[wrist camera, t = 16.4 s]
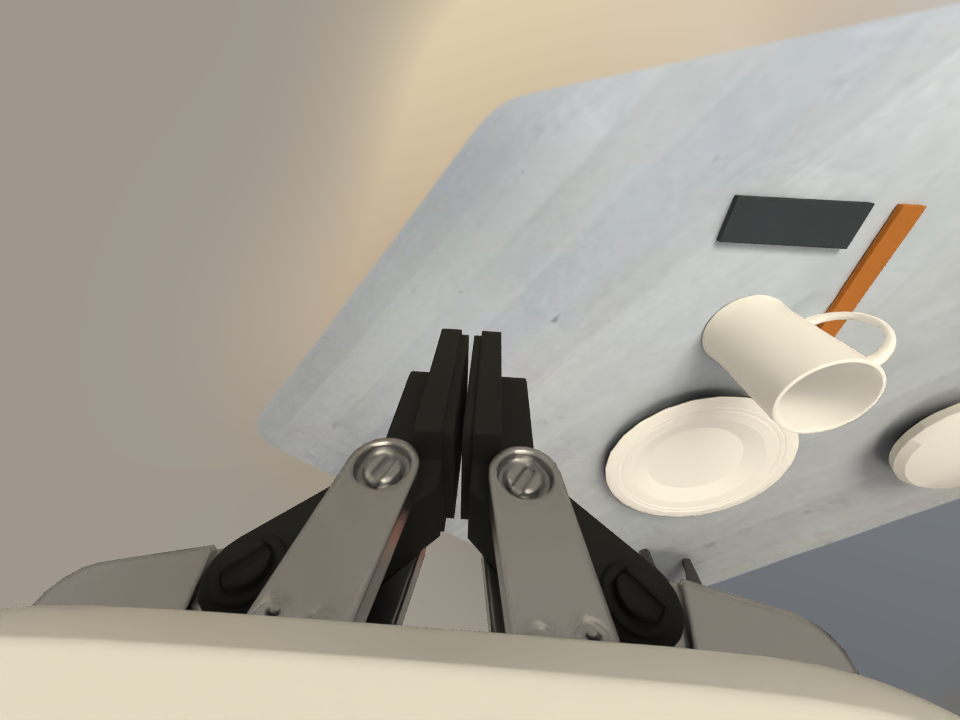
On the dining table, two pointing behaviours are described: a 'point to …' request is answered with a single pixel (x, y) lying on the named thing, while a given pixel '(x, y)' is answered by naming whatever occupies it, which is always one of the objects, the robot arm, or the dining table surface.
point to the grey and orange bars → (820, 235)
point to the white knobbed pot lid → (930, 451)
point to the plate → (699, 457)
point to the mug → (797, 363)
